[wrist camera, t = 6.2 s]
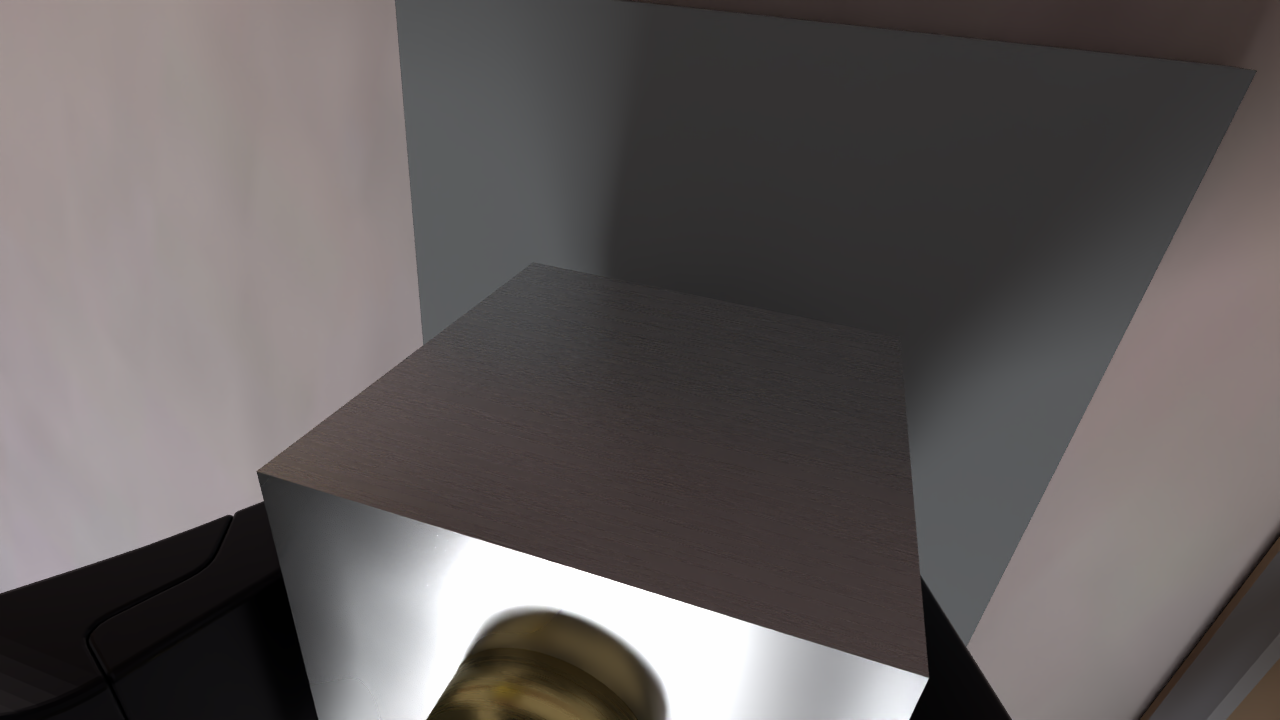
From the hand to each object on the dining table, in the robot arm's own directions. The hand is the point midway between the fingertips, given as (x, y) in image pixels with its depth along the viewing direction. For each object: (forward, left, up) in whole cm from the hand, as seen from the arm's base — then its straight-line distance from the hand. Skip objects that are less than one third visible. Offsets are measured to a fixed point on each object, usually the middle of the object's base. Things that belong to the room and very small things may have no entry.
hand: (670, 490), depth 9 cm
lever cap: (0, 0, 0) cm, 1 cm away
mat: (0, 0, -3) cm, 3 cm away
